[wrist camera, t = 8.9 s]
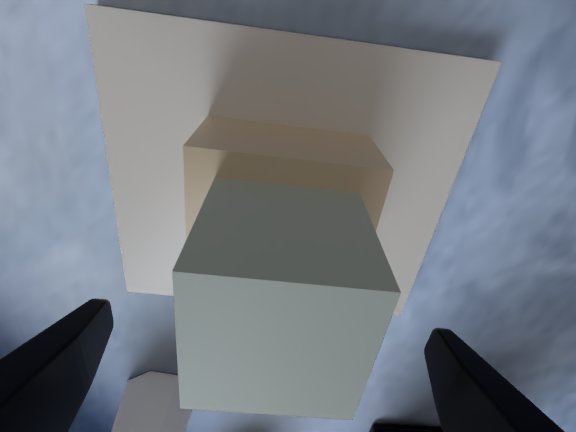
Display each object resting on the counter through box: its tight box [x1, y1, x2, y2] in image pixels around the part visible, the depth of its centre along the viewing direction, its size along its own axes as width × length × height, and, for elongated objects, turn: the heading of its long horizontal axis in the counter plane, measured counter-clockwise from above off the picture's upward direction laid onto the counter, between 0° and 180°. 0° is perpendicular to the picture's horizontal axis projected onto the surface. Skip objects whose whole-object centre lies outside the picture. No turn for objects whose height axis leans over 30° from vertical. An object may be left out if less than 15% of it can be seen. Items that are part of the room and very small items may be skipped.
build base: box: [84, 4, 502, 316], centre depth 15 cm, size 14×16×5 cm
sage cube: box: [172, 177, 401, 420], centre depth 11 cm, size 5×5×5 cm
